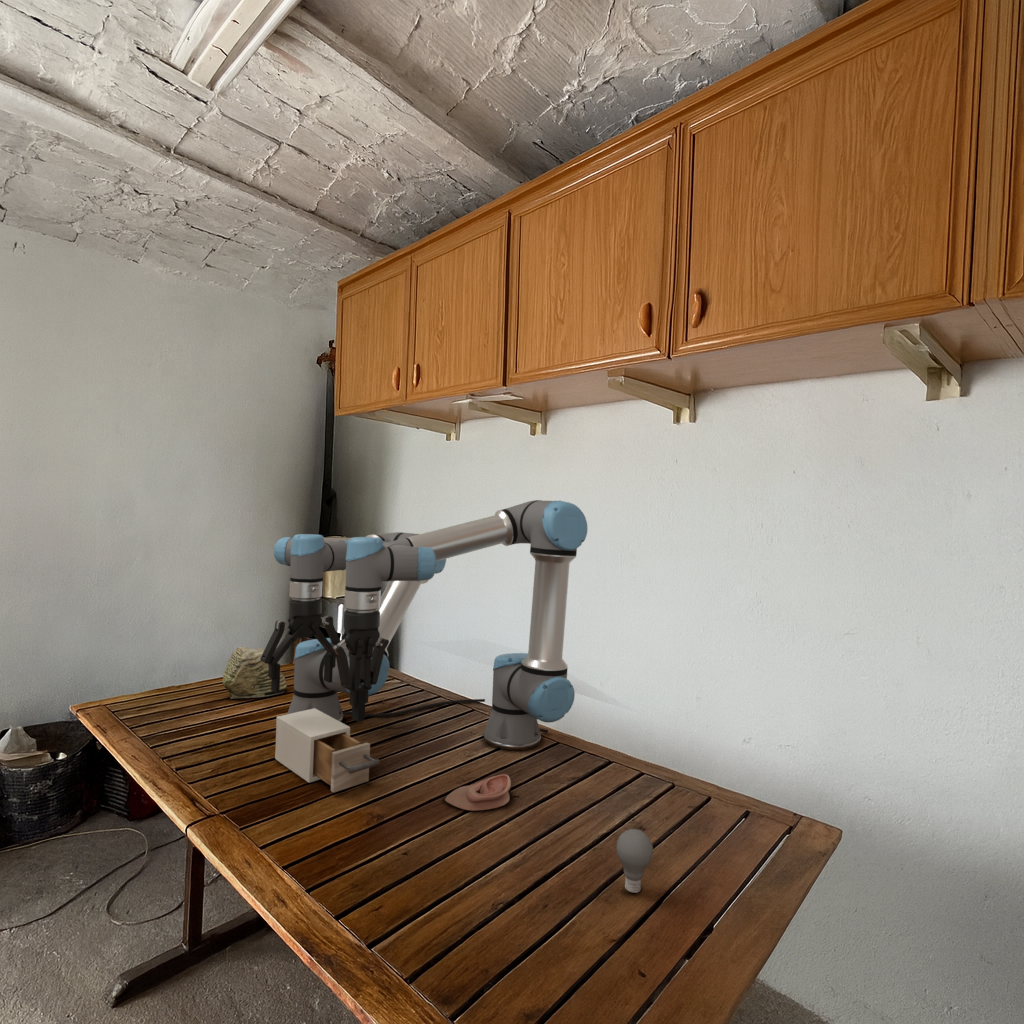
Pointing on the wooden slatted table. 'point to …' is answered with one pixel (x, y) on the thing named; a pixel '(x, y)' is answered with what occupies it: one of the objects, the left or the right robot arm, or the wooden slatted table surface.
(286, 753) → the cabinet
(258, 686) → the fossil
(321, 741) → the drawer
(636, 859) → the light bulb
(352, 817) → the wooden slatted table surface
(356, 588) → the right robot arm
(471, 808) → the anatomical model
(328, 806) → the wooden slatted table surface
